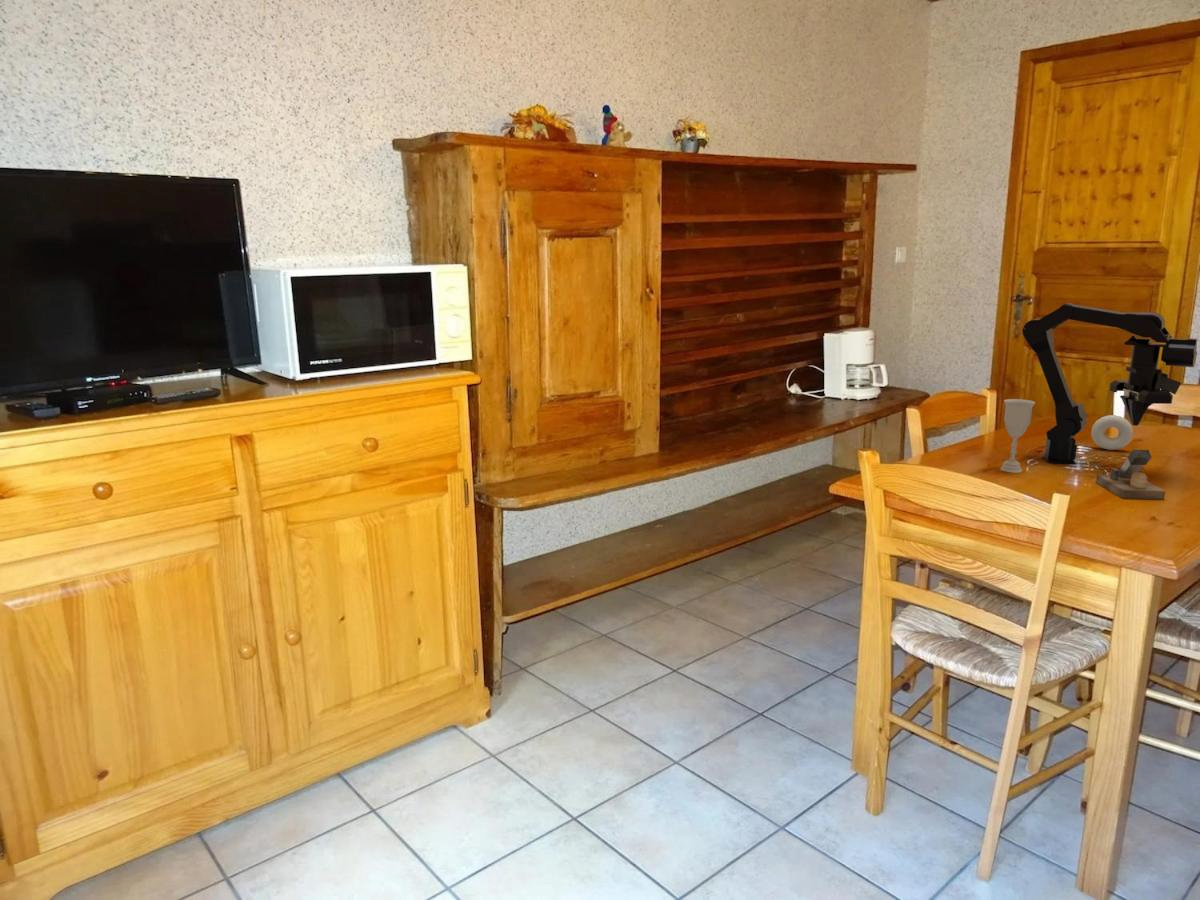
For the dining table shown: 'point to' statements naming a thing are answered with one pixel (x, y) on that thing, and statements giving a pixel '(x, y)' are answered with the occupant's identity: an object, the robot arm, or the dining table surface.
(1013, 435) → the chalice
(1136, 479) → the beige egg
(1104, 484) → the grey base plate stand
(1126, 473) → the grey blocky upright piece
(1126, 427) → the donut
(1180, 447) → the dining table surface
